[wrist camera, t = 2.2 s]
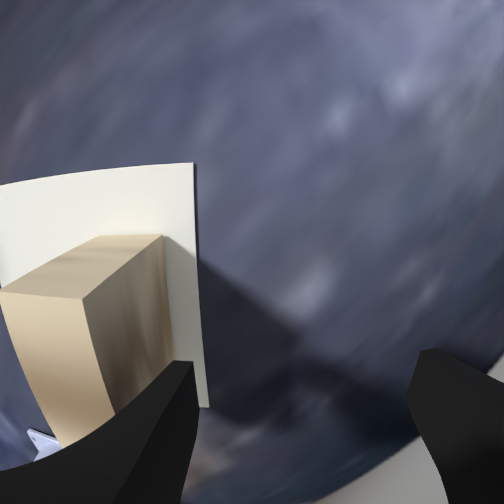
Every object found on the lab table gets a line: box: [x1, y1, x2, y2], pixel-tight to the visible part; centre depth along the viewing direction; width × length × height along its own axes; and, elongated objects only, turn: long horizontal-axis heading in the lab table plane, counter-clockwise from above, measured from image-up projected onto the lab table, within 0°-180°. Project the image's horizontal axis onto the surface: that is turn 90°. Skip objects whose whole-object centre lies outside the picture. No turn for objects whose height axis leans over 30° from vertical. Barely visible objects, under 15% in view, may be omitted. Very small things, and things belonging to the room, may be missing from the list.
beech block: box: [0, 234, 176, 448], centre depth 11 cm, size 7×3×7 cm, turn 0°
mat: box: [0, 163, 209, 407], centre depth 14 cm, size 13×13×1 cm
